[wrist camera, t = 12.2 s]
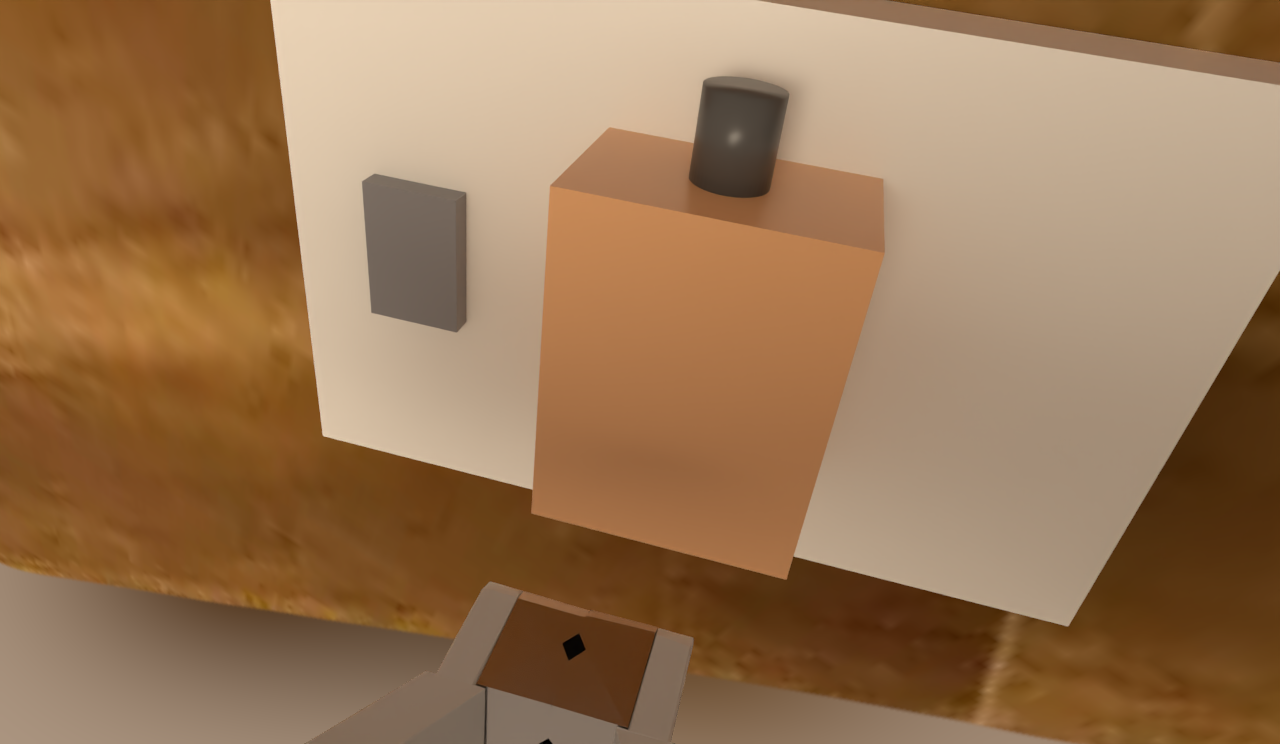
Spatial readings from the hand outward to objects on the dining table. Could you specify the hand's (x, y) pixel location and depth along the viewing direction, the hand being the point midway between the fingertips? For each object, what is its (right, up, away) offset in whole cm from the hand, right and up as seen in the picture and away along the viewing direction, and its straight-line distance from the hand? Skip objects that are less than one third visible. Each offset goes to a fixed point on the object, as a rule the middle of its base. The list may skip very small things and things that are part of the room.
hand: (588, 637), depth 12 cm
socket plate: (+3, +7, +11) cm, 13 cm away
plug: (+3, +6, +10) cm, 13 cm away
